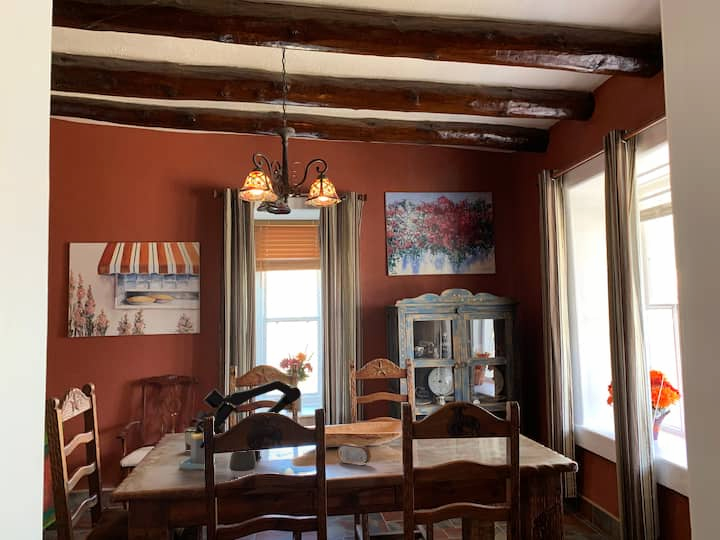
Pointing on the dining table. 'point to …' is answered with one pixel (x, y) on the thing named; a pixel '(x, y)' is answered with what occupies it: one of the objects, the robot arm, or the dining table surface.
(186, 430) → the food container
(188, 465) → the tray
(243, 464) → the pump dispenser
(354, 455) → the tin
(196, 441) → the caddy
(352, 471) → the dining table surface
